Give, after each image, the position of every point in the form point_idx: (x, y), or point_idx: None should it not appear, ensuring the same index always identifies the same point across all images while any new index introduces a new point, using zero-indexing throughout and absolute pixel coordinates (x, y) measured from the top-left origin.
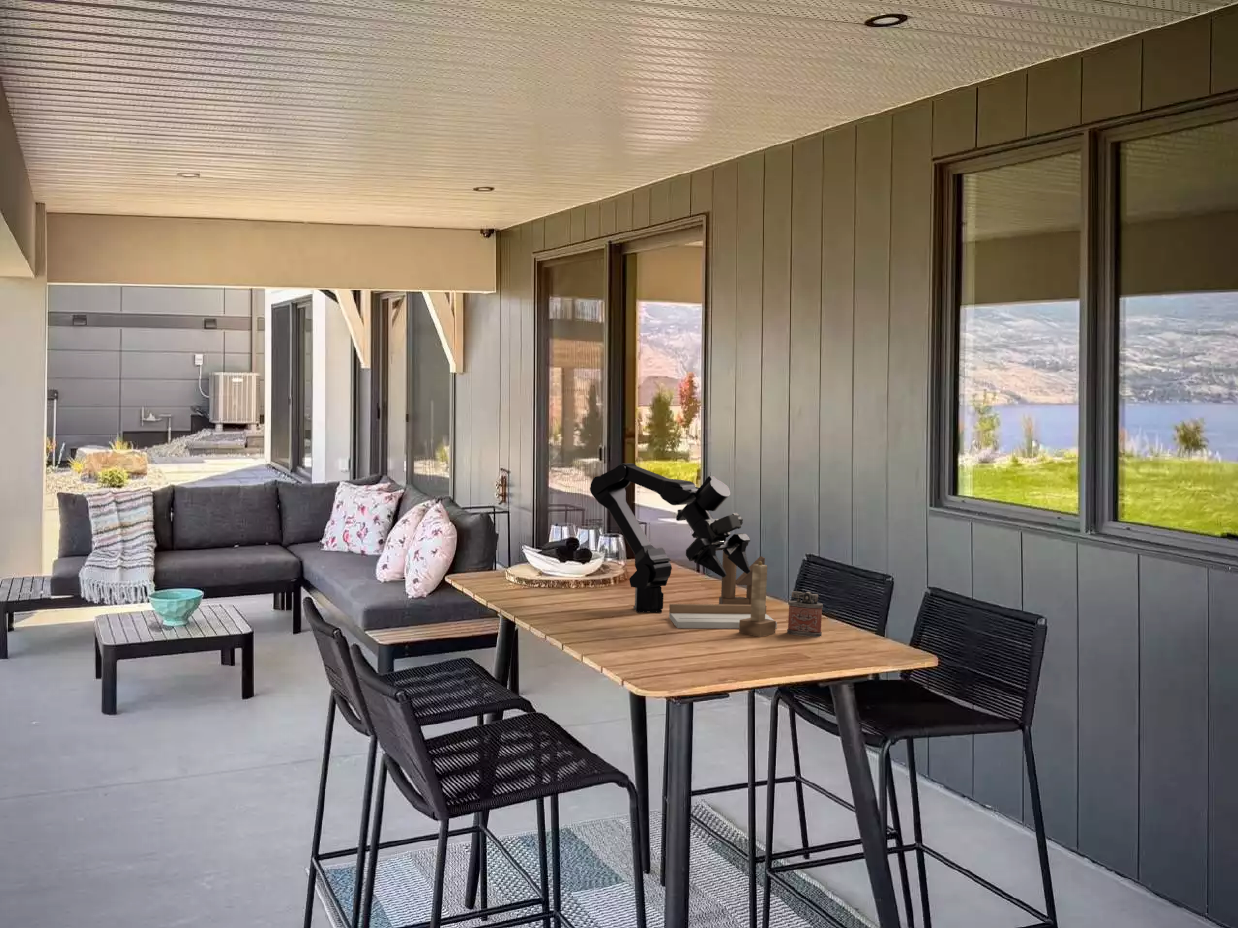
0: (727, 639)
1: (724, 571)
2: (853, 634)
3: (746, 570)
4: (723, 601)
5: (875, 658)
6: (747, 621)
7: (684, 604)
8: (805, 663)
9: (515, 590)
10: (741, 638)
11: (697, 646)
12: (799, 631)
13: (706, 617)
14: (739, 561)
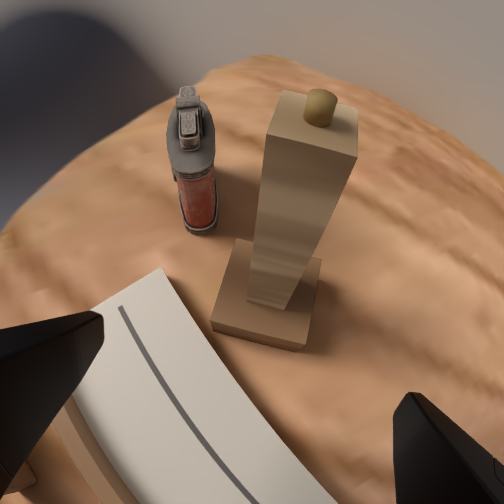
0: (400, 335)
1: (428, 406)
2: (143, 130)
3: (91, 342)
4: (17, 483)
5: (321, 84)
6: (311, 310)
7: None
8: (433, 149)
9: None
10: (364, 311)
11: (491, 347)
12: (215, 196)
13: (226, 501)
14: (20, 412)
